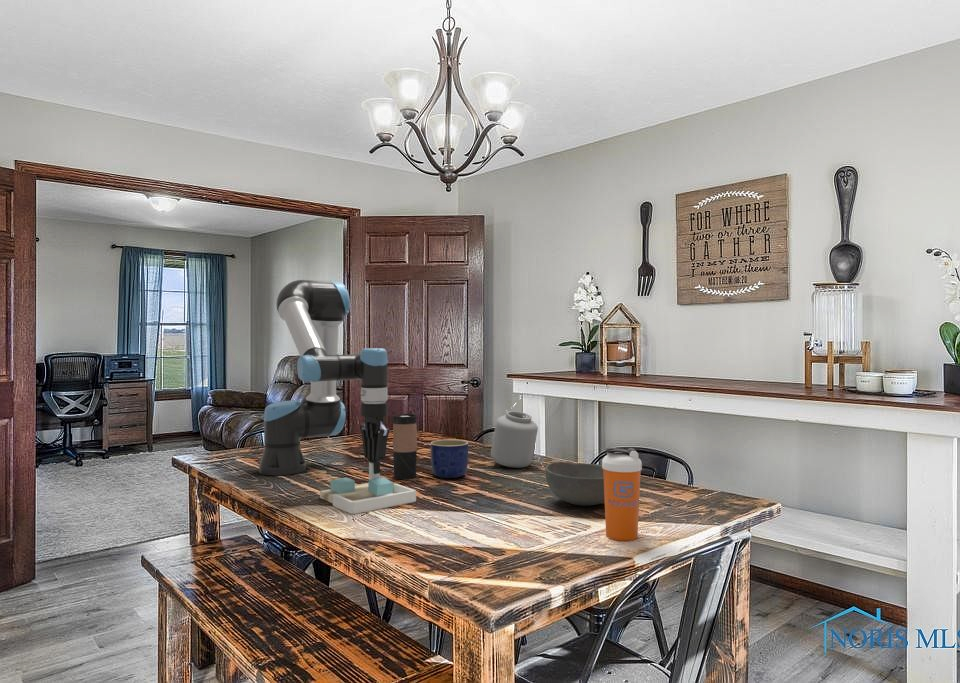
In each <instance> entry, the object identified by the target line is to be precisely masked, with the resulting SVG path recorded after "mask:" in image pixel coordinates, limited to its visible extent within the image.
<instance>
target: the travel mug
mask: <svg viewBox="0 0 960 683" xmlns="http://www.w3.org/2000/svg"><path fill="white" fill-rule="evenodd" d="M392 419H393V422H392V424H393V425H392V428H393V430H392V434H393V436H392V439H393V440H392V455H393V456H392V458H393V459H392V461H393V478H395V479H397V480H410V479H411V480H412V479H414V478H416V477H417V463H418V462H417V460H418V456H417V455H418V447H417V446H418V443H417V442H418V440H417V438H418V436H417V433H418V432H417V430H418V428H417V427H418V426H417V424H418V423H417V415H416V414H413V413H404V414H402V415H397V414H394V415H393V418H392Z"/></svg>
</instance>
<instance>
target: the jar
mask: <svg viewBox="0 0 960 683" xmlns="http://www.w3.org/2000/svg"><path fill="white" fill-rule="evenodd" d="M521 396H522V395H519V400H521V399H522V398H521ZM516 404H517V402H515V404H513V406H512V407H513V408H514V407H515V406H516ZM525 405H527V403H525ZM527 409H529V407H528V406H527ZM493 431H494V432H493V437H492V443H491V450H490V457H491V459H492V461H494V462H495V463H496V464H498V465H501V466H503V467H506V468H513V469H523V468H527V467H529V466H530V465H531V464H532V462H533V457H534V452H535V447H536V440H537V436H538V431H539V427H538V425H537V423H536V422H535V421H533V420H532V415H531V414H528V413H525V412H523V411H522V412H521V411H516V410H515V411H514V410H510V411H508V410H507V409H506V412H505V414H503V415H502V416H499V417H497V419H496V421H495V426H494V430H493ZM539 459H541V458H540V457H538V462H539V461H540V460H539ZM540 464H541V465H542V464H543V463H542V462H541V463H540ZM542 467H544V465H542Z"/></svg>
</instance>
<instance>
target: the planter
mask: <svg viewBox="0 0 960 683" xmlns="http://www.w3.org/2000/svg"><path fill="white" fill-rule="evenodd" d="M468 461H469V442H468V441H467V440H463V439H438V440H433V441H431V442H430V463H431V471H432V473H433V475H434V476H436V477H437V478H442V479H456V478H461V477H464V475H465V474H466V473H467V470H468Z"/></svg>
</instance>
